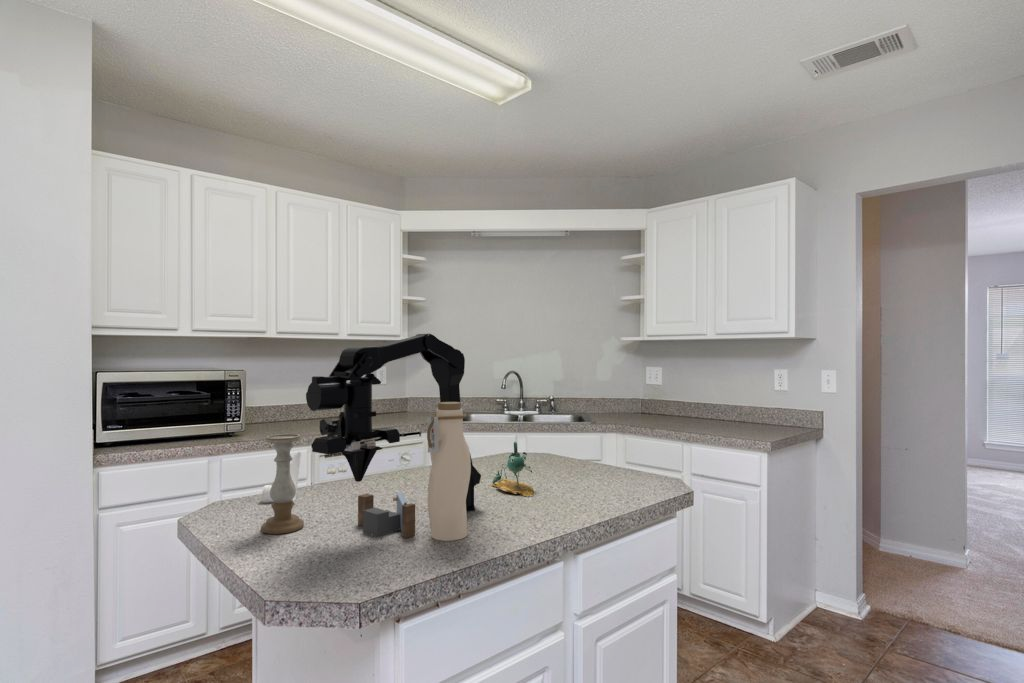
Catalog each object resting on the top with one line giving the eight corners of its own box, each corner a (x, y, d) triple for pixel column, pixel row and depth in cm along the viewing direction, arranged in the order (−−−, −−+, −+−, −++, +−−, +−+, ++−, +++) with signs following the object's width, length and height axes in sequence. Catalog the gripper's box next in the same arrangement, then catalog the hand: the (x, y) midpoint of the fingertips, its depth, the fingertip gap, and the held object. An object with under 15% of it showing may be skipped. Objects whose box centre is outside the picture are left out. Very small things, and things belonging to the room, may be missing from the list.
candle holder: (260, 537, 116) (261, 440, 117) (261, 525, 124) (262, 434, 125) (305, 531, 120) (305, 437, 120) (302, 520, 128) (303, 432, 128)
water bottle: (449, 547, 110) (449, 406, 110) (415, 539, 115) (415, 403, 115) (479, 532, 118) (479, 402, 119) (446, 526, 123) (446, 400, 124)
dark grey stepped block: (400, 530, 121) (400, 508, 121) (377, 537, 116) (377, 514, 117) (386, 525, 124) (386, 504, 124) (363, 532, 120) (363, 510, 120)
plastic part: (261, 504, 142) (261, 459, 142) (273, 494, 152) (273, 452, 152) (292, 503, 143) (292, 458, 143) (301, 493, 153) (301, 451, 153)
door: (407, 532, 118) (407, 504, 118) (397, 533, 117) (397, 505, 117) (401, 518, 128) (401, 492, 128) (392, 519, 127) (392, 493, 128)
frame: (415, 535, 117) (415, 502, 117) (406, 538, 115) (406, 505, 115) (366, 522, 126) (366, 492, 127) (357, 524, 124) (358, 494, 125)
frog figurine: (511, 482, 167) (515, 434, 166) (545, 502, 151) (549, 449, 150) (483, 485, 162) (487, 436, 161) (515, 506, 146) (519, 452, 145)
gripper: (368, 401, 129) (368, 468, 128) (295, 408, 113) (296, 485, 113) (401, 403, 122) (401, 474, 122) (329, 411, 107) (329, 492, 107)
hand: (358, 481), depth 116 cm, fingers closed
